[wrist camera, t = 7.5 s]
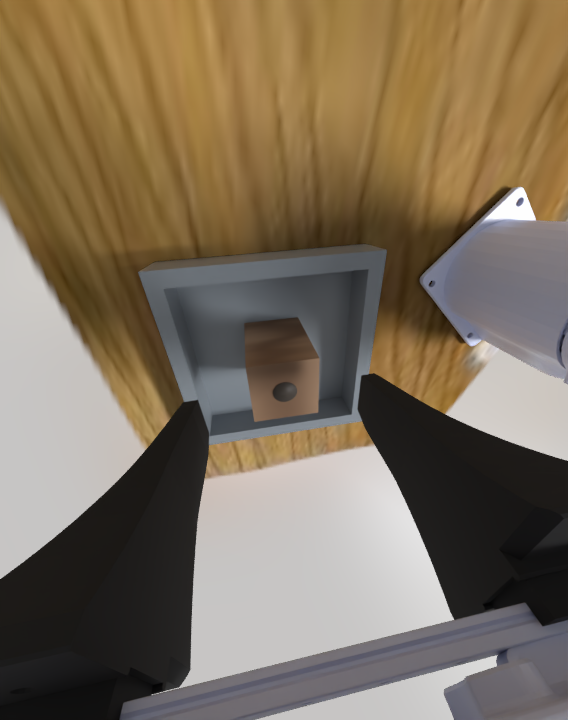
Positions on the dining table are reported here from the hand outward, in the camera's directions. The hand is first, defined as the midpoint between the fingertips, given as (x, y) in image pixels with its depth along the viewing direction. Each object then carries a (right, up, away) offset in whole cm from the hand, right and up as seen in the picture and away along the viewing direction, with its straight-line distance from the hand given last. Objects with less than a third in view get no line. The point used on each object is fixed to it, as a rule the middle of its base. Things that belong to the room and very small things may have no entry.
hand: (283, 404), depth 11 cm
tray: (-1, +3, +9) cm, 10 cm away
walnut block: (-1, +3, +8) cm, 9 cm away
